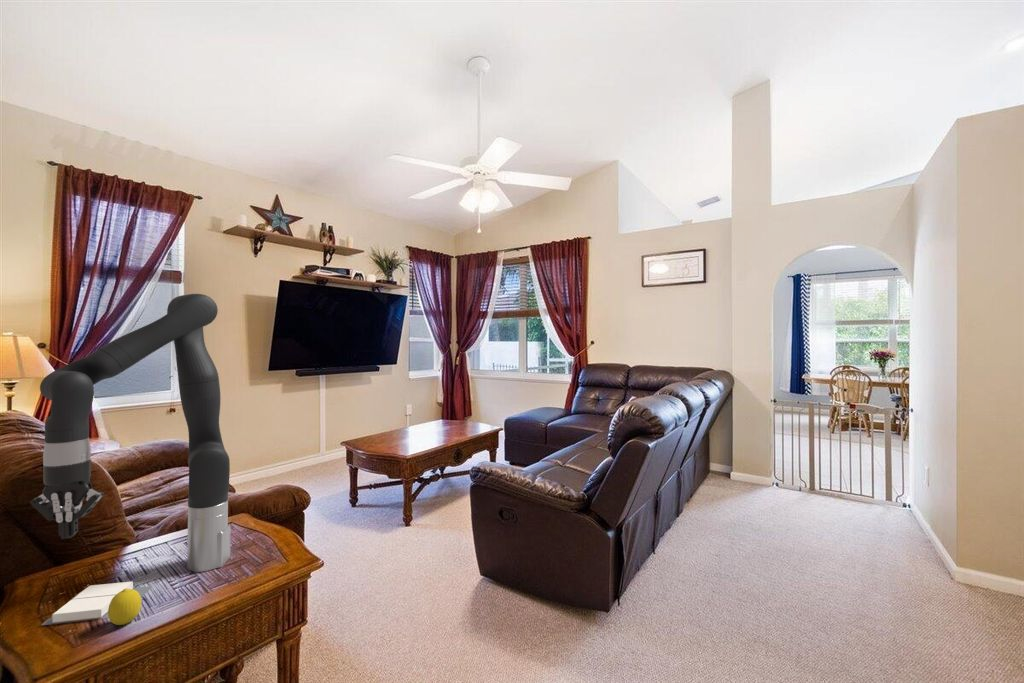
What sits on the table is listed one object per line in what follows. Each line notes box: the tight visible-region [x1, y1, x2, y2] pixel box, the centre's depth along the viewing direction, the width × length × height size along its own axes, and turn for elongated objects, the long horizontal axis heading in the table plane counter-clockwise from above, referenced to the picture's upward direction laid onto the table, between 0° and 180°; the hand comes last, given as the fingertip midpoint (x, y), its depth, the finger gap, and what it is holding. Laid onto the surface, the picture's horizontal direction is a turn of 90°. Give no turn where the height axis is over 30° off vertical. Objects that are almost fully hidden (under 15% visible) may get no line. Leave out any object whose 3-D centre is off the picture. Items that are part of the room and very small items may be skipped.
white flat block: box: [72, 581, 134, 600], centre depth 106 cm, size 2×6×9 cm
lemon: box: [108, 589, 142, 626], centre depth 97 cm, size 6×6×8 cm
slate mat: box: [41, 585, 154, 626], centre depth 104 cm, size 15×13×1 cm
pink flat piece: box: [51, 595, 115, 624], centre depth 100 cm, size 2×6×9 cm
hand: (68, 537), depth 99 cm, fingers closed
